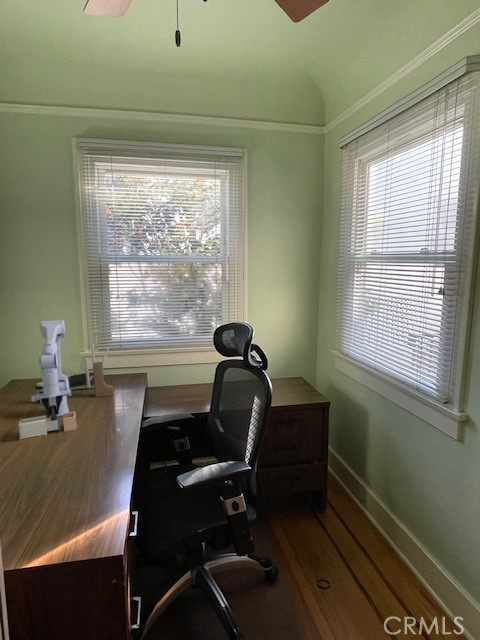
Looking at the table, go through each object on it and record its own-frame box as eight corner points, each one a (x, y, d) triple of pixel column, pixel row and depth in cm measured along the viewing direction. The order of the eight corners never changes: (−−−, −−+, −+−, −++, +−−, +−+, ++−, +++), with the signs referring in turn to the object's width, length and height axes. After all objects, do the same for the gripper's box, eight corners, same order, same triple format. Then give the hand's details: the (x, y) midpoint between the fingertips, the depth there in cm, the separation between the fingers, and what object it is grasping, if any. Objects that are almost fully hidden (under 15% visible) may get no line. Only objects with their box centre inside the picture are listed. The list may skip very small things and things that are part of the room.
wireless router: (72, 376, 225) (70, 345, 222) (111, 373, 231) (109, 343, 228) (61, 394, 193) (58, 358, 190) (107, 390, 199) (104, 355, 196)
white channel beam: (21, 434, 148) (19, 419, 147) (47, 429, 152) (45, 415, 151) (20, 440, 142) (18, 425, 141) (47, 435, 147) (45, 420, 146)
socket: (63, 425, 155) (62, 413, 154) (75, 423, 157) (74, 411, 156) (64, 431, 150) (63, 418, 149) (76, 429, 152) (75, 416, 151)
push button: (32, 405, 179) (30, 385, 177) (35, 401, 184) (33, 382, 182) (47, 403, 181) (45, 384, 179) (49, 399, 186) (47, 381, 184)
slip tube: (27, 431, 148) (25, 408, 146) (59, 425, 153) (58, 403, 152) (27, 435, 144) (24, 412, 143) (60, 429, 150) (58, 406, 148)
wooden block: (113, 392, 195) (111, 360, 193) (113, 395, 191) (111, 362, 188) (95, 394, 192) (93, 362, 189) (95, 397, 188) (93, 364, 185)
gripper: (29, 388, 141) (33, 421, 143) (70, 383, 147) (73, 414, 150) (30, 383, 147) (33, 415, 149) (69, 378, 154) (72, 408, 156)
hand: (53, 414), depth 150 cm, fingers closed on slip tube, 2 cm apart
